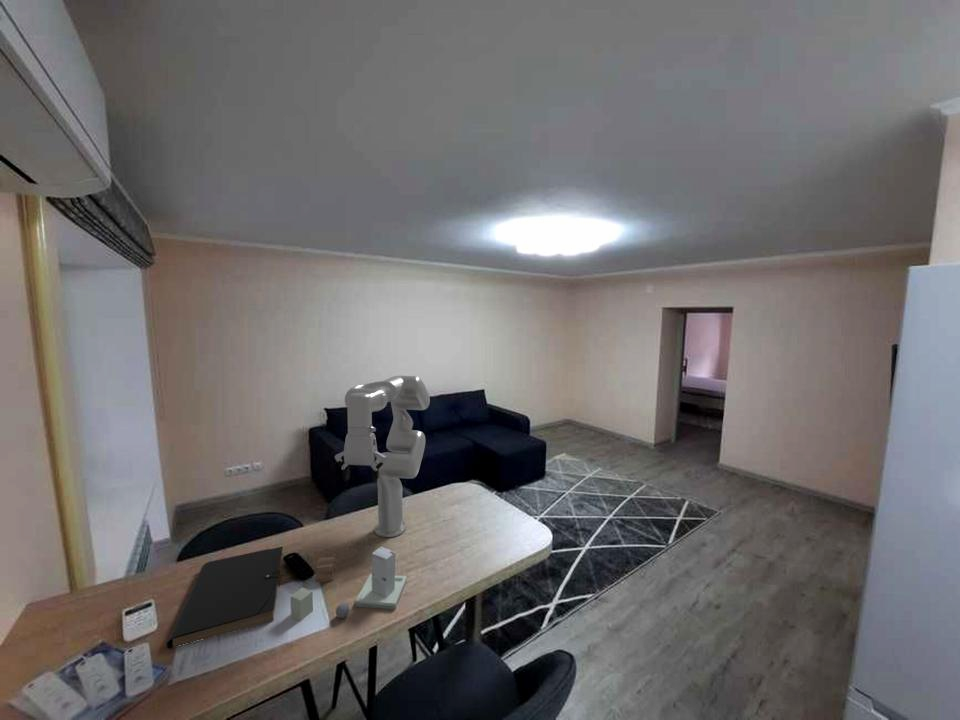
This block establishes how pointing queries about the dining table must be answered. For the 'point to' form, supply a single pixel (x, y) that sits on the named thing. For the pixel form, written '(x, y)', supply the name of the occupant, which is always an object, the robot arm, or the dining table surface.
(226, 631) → the file folder
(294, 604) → the sage block
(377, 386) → the robot arm
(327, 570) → the walnut cube
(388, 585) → the skincare box
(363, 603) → the tray
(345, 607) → the grey ball
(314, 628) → the dining table surface
